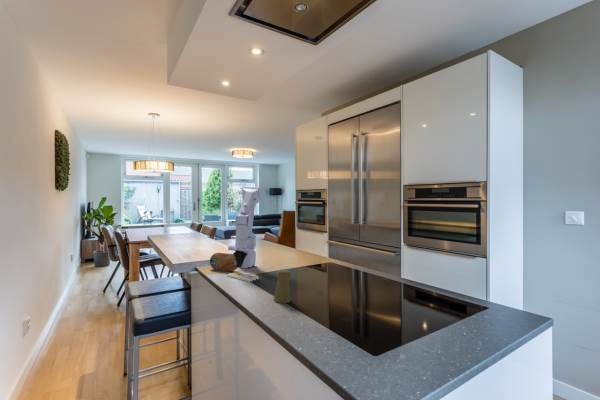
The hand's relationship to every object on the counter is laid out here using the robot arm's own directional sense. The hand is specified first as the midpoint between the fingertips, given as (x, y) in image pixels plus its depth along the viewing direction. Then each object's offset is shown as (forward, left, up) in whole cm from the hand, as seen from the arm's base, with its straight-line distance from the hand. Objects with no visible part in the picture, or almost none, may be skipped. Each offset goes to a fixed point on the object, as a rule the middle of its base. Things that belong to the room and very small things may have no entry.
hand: (239, 266), depth 146 cm
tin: (+1, -9, -3) cm, 9 cm away
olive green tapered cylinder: (+21, +38, -3) cm, 44 cm away
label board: (+6, +7, -3) cm, 10 cm away
